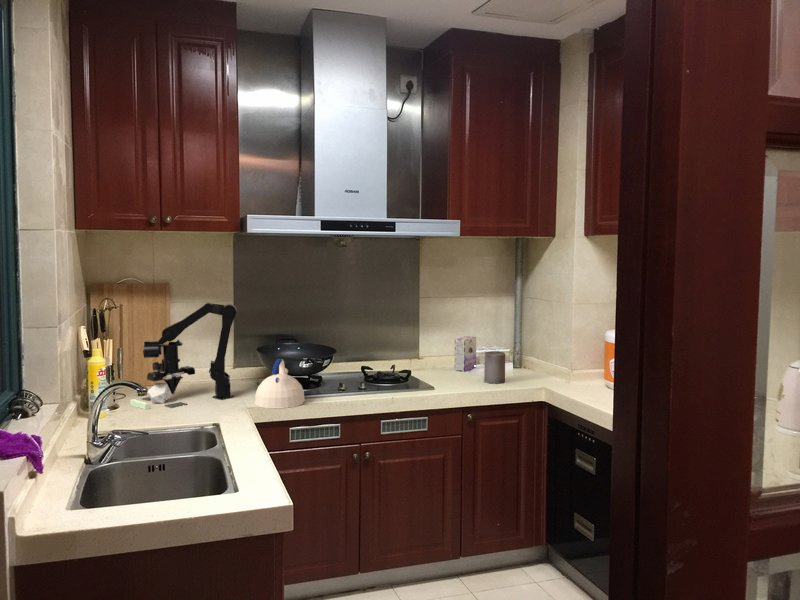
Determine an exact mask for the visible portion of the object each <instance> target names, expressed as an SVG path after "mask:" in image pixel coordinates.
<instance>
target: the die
mask: <svg viewBox="0 0 800 600" xmlns="http://www.w3.org/2000/svg"><path fill="white" fill-rule="evenodd" d="M147 391H148V392H147V395H148V397H150V398H151V403H153V404H164V403H165V402H166V401H167V400H168V399H169V398H170V397H172V395H173V394H171V391H170V389H169V387H168V385H167V383H166V382H165V383H164V382H155V384H153V386H151V387H150V388H149V389H148V390H147Z"/></svg>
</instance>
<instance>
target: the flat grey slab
mask: <svg viewBox="0 0 800 600" xmlns="http://www.w3.org/2000/svg"><path fill="white" fill-rule="evenodd" d="M142 400H144V401H147V402H144V401H142ZM129 401H130V402H129V405H130V406H133V407H136V408H140V409H143V410H150V403H148V402H149V401H151V398H150V396H147V397H143V398H141V400H138V399H135V398H133V399H132V398H131V399H129ZM151 402H152V401H151ZM183 405H184V406H187V405H188V403H186V402H182V401H180V402H174V403H170V404H169V403H168V404H165V405H164V407H167V408H170V409H174V408H177V407H183Z"/></svg>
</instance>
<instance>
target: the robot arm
mask: <svg viewBox="0 0 800 600" xmlns="http://www.w3.org/2000/svg"><path fill="white" fill-rule="evenodd" d="M208 314H213V315H217V316H218V315H219V316H221V329H220V334H219V335H220V336H219V340H218V344H217V346H218V347H217V352H216V356H215V359H214V360H210V368H209V370H208V373H209V376H210V378H211V380H212V381H214V382H215V384H214V386H215V387H214V391H215V394H214V395H212V398H214V399H217V400H226V399H231V398H234V395H232V394H231V392H232V391H231V383H230V381H231V380H230V379H231V376H230V375H229V374H228V373H227V372H226V353H227V349H228V344H229V337H230V334H231V333H230V332H231V328H232V326H233V323H234V320H235V317H236V315H237V307H236V306H235V305H234V304H231V303H227V304H218V303H211V302H206V303H205V304H204V305H202V306H201V307H199V308H198V309H196V310H195V311H193V312H192V313H190V314H189V315H188V316H186V317H185V318H183V319H181V320H179V321H177V322H174V323H171V325H170V324H169V325H167V326H165V328H164V329H163V330H162V332H161V337H160V338H159V339H158V341H157V340H154V341H153V340H151V341H149V340H146V341H145V340H144V342H143V343H144V344H143V350H142V353H143V358H144V359H149V358H152V359H153V358H154V359H155V358H160V356H162V355H163V358H161V363H159V361H154V362H152V370H153V371H151V372H148V373H147V375H146V379H147V381H152V382H159V381H164V382H165V383H167V385H168V387H169V389H170V391H171V394H172V395H175V393H176V390H177V387H178V385H179V384H180V381H181V380H182V379H183V378H184V377H183V376H182V375H183V374H187V375H188V376H191V375H196V369H195V367H194V366H189V365H187V366H180V365H179V362H181V359H180V358H179V347H183V344H184V343H183V342H182V341H180V340H179V339H177V337H179V336H180V335H181V334H182V332H184V331H185V330H186V329H187V328H189V327H190V326H192V325H193V324H194V323H196V322H198V321H199V320H201V319H202V318H203V317H206V315H208ZM175 339H177V340H176V341H175ZM179 366H180V367H179Z"/></svg>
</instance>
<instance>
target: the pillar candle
mask: <svg viewBox="0 0 800 600" xmlns="http://www.w3.org/2000/svg"><path fill="white" fill-rule="evenodd" d="M483 369H484V371H483V372H484V375H483V376H484V377H483V381H484V383H486V384H494V385H500V384H504V383H506V353H505V352H504V351H496V350H492V351H486V352H484V368H483Z"/></svg>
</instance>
